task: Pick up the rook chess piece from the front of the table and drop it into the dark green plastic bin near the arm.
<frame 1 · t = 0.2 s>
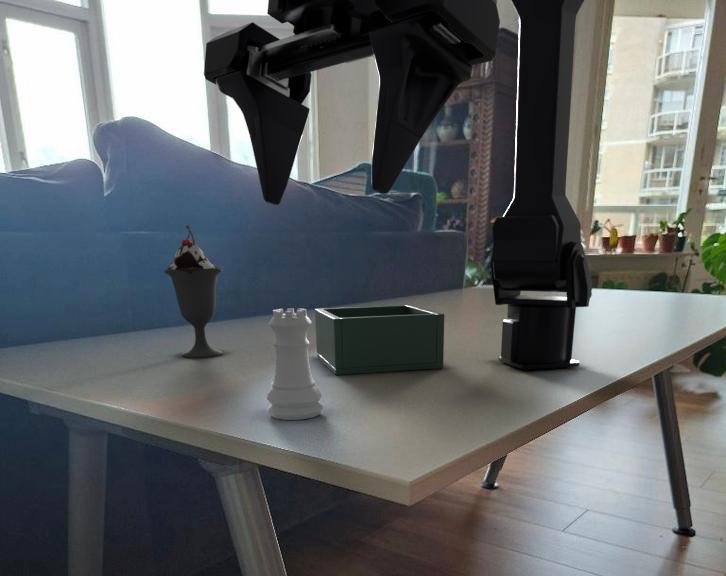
hand: (321, 198, 41), 15 cm above the table, tool pointing down, fingers open, 9 cm apart
bin: (376, 362, 74), on the table
rook chess piece: (295, 416, 53), on the table
sundae: (202, 356, 82), on the table
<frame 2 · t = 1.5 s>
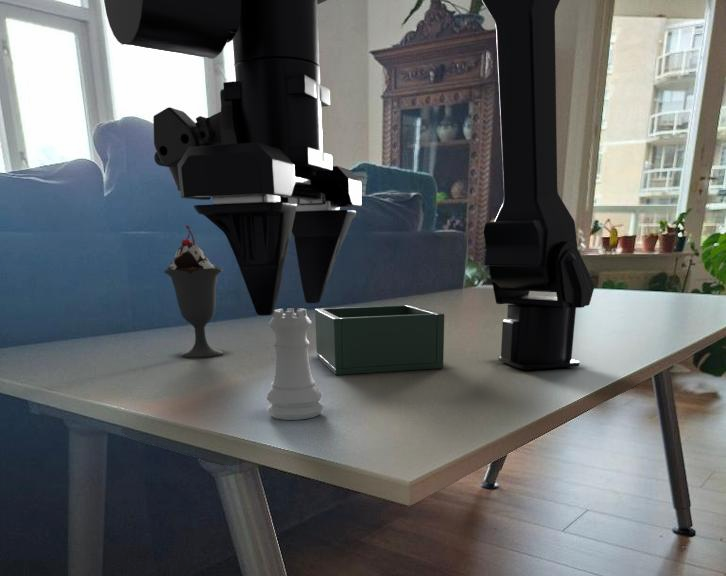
hand: (290, 308, 50), 8 cm above the table, tool pointing down, fingers open, 9 cm apart
nothing on the table moved.
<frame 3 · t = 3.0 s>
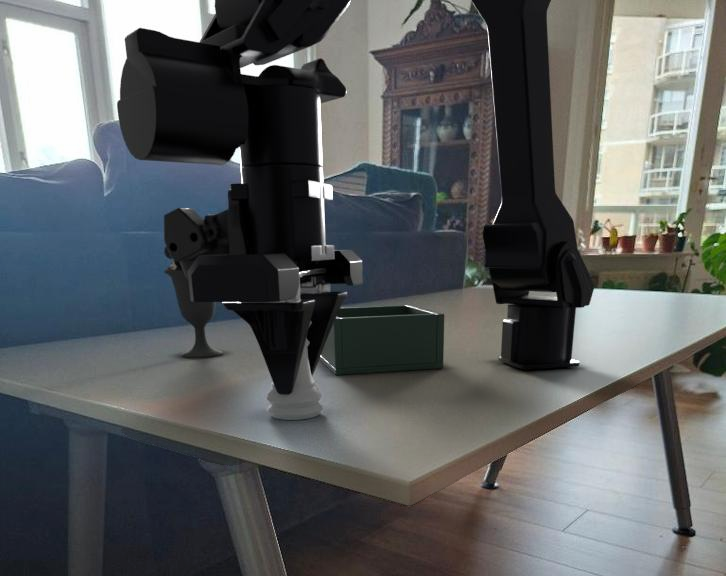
hand: (294, 388, 52), 2 cm above the table, tool pointing down, fingers closed on rook chess piece, 3 cm apart
rook chess piece: (295, 416, 53), on the table, touching gripper
everything else where it was.
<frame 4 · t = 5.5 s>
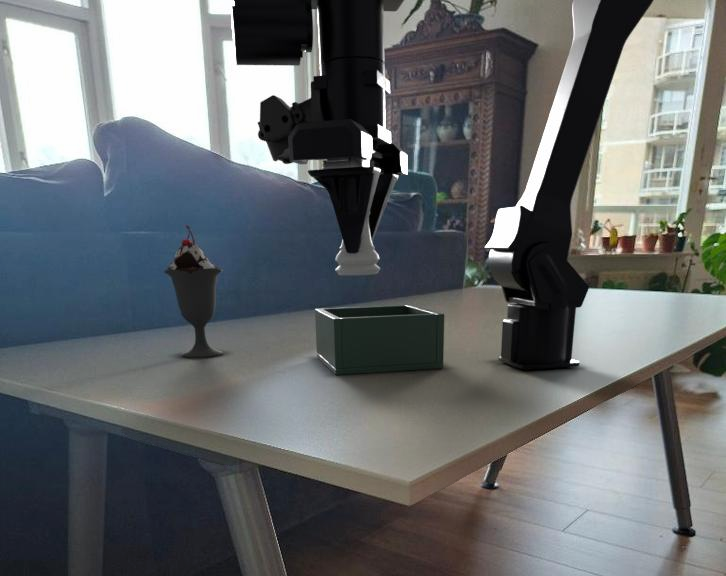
hand: (358, 252, 64), 12 cm above the table, tool pointing down, fingers closed on rook chess piece, 3 cm apart
rook chess piece: (357, 276, 65), point 10 cm above the table, touching gripper
everything else where it was.
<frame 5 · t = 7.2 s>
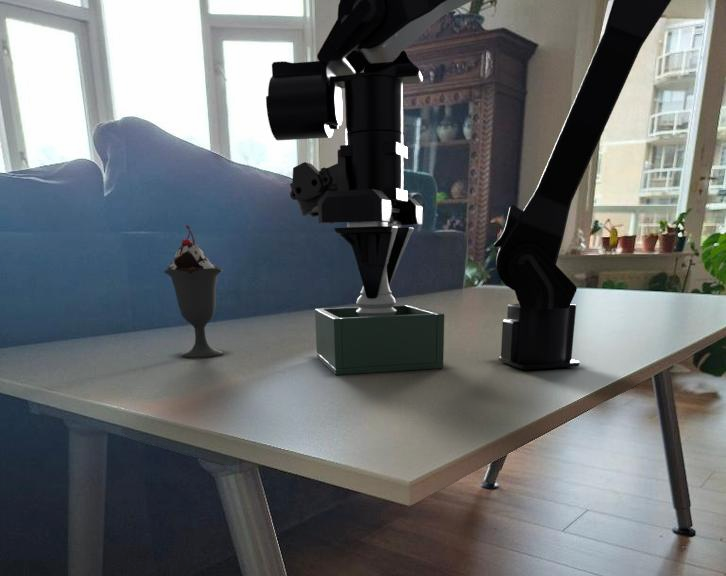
hand: (376, 296, 72), 7 cm above the table, tool pointing down, fingers closed on rook chess piece, 3 cm apart
rook chess piece: (376, 317, 73), point 5 cm above the table, touching gripper
everything else where it was.
when the fingers open (4 cm above the table, at t = 8.4 s): rook chess piece drops 1 cm, resting on bin.
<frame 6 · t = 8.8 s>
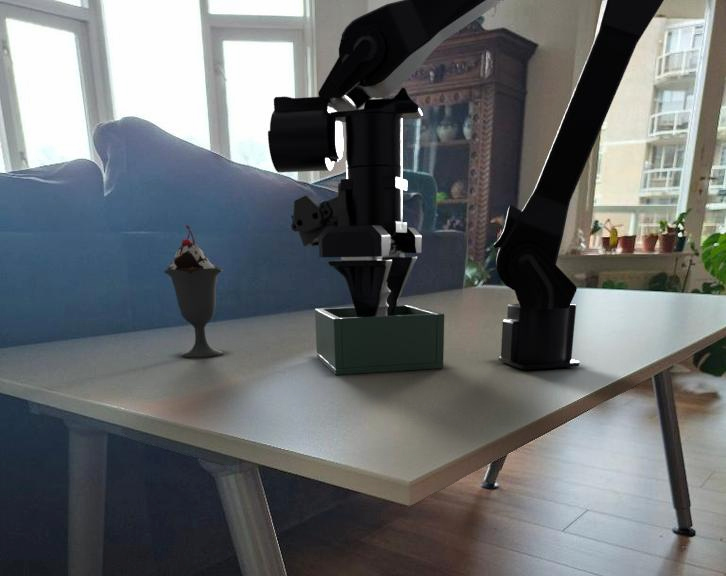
hand: (376, 325, 73), 4 cm above the table, tool pointing down, fingers open, 7 cm apart
rook chess piece: (376, 358, 74), resting on bin
everything else where it was.
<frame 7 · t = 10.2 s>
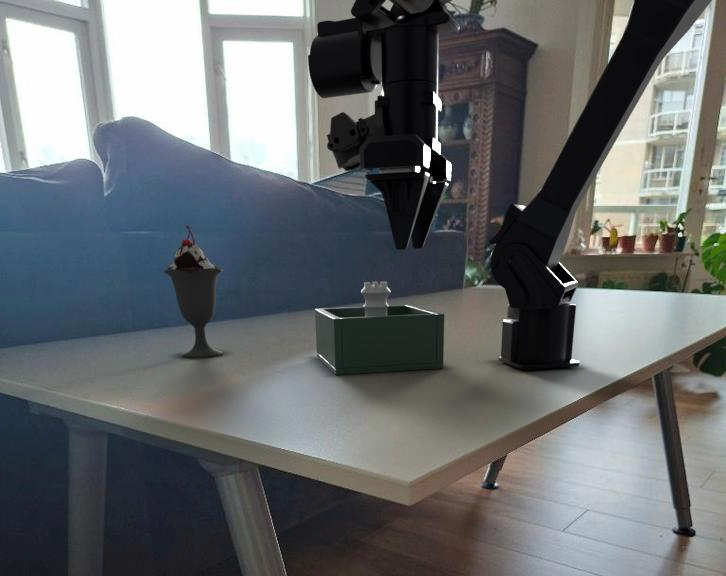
hand: (410, 249, 73), 12 cm above the table, tool pointing down, fingers open, 9 cm apart
nothing on the table moved.
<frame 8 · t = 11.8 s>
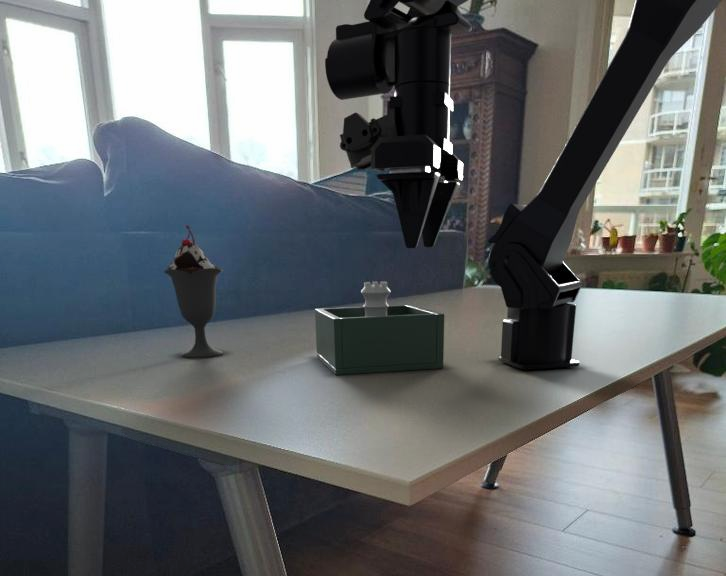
hand: (420, 247, 74), 12 cm above the table, tool pointing down, fingers open, 9 cm apart
nothing on the table moved.
at the end: rook chess piece inside the target area in the bin (0.0 cm from its centre), point 0.4 cm above the bin's base; the gripper is holding nothing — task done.
